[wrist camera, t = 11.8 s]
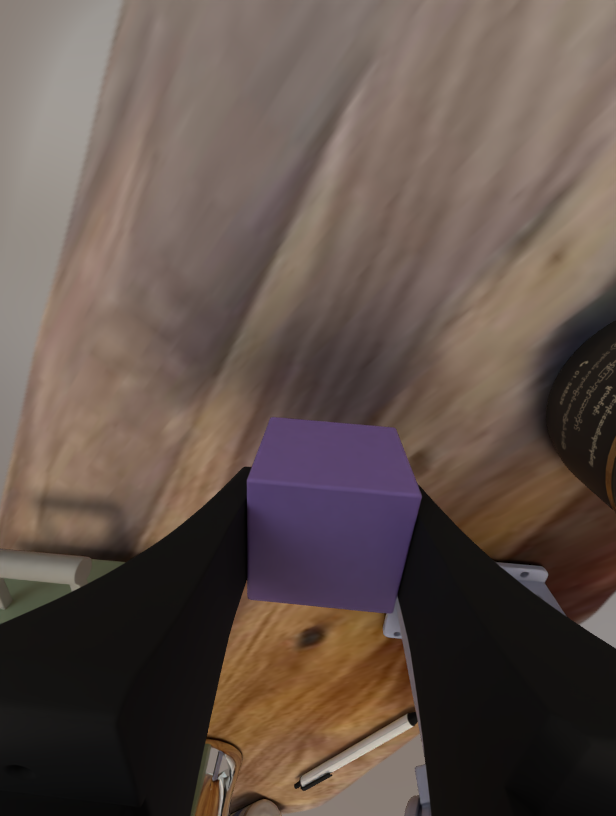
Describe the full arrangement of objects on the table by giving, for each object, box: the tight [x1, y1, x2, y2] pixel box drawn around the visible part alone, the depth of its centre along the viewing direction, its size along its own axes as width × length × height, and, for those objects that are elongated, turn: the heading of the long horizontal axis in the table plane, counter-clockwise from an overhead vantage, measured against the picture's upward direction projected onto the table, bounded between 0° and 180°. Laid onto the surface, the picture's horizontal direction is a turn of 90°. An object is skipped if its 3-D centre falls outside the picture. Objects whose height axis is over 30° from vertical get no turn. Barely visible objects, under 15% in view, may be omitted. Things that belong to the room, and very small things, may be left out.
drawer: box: [0, 549, 125, 624], centre depth 22 cm, size 17×11×6 cm
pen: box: [294, 712, 418, 791], centre depth 32 cm, size 1×19×1 cm, turn 144°
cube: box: [247, 417, 422, 614], centre depth 11 cm, size 4×4×4 cm
